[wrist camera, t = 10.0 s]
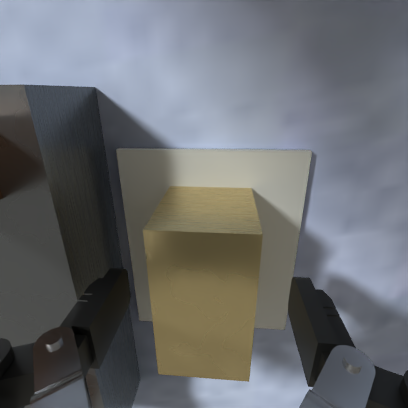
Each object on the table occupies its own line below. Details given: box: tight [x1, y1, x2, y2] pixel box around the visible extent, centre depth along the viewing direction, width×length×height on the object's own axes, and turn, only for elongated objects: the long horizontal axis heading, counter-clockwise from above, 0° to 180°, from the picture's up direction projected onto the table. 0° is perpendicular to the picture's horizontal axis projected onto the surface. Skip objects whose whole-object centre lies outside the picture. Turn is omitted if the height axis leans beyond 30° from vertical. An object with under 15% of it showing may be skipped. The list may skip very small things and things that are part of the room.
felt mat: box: [116, 148, 312, 330], centre depth 16 cm, size 12×10×1 cm
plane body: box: [0, 85, 140, 408], centre depth 13 cm, size 22×6×11 cm, turn 0°
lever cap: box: [143, 186, 263, 381], centre depth 14 cm, size 8×4×5 cm, turn 0°
